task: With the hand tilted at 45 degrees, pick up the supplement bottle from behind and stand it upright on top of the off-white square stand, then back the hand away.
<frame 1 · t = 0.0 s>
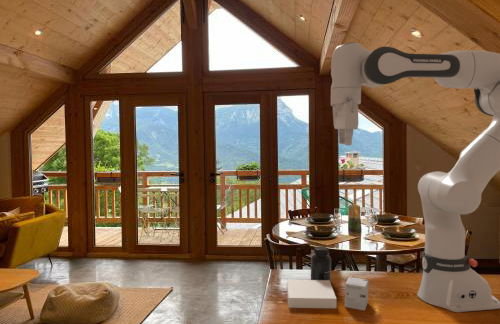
hand: (345, 144, 121), 48 cm above the table, tool pointing down, fingers open, 8 cm apart
supplement bottle: (320, 282, 137), on the table
skincare box: (356, 305, 119), on the table
stand: (310, 297, 124), on the table
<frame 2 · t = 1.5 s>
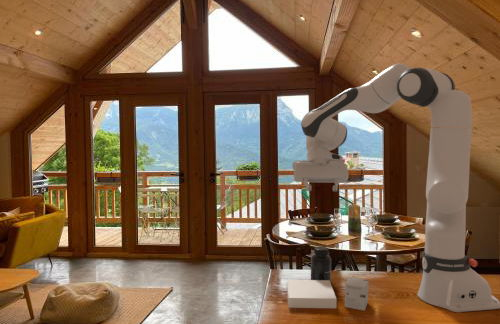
hand: (322, 190, 145), 30 cm above the table, tool tilted 45°, fingers open, 8 cm apart
nothing on the table moved.
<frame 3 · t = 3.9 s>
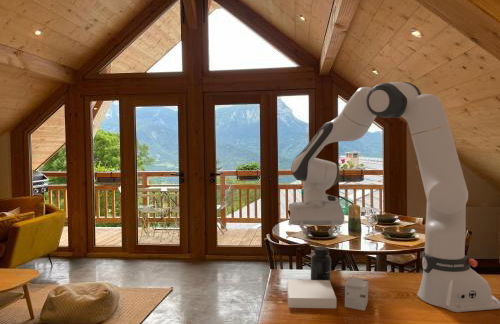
hand: (318, 233, 145), 14 cm above the table, tool tilted 45°, fingers open, 8 cm apart
nothing on the table moved.
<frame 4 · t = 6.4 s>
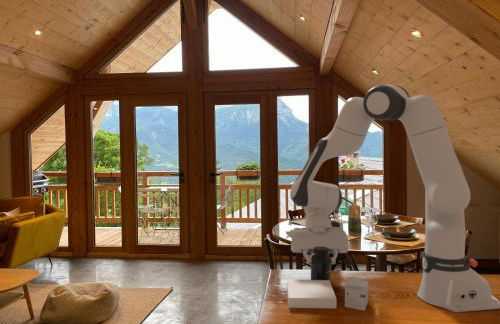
hand: (321, 263, 136), 7 cm above the table, tool tilted 45°, fingers closed on supplement bottle, 7 cm apart
supplement bottle: (320, 282, 137), on the table, touching gripper
everything else where it was.
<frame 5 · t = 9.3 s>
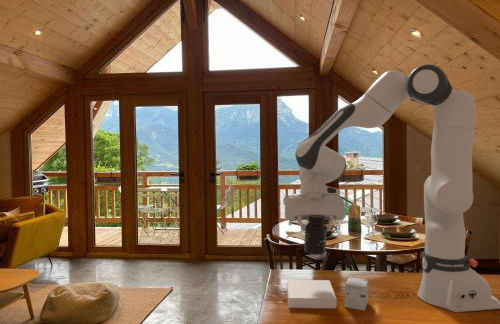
hand: (316, 230, 128), 20 cm above the table, tool tilted 45°, fingers closed on supplement bottle, 7 cm apart
supplement bottle: (314, 252, 130), point 12 cm above the table, touching gripper
everything else where it was.
when the fingers open (11 cm above the table, at t = 12.4 s): supplement bottle stays where it is, resting on stand.
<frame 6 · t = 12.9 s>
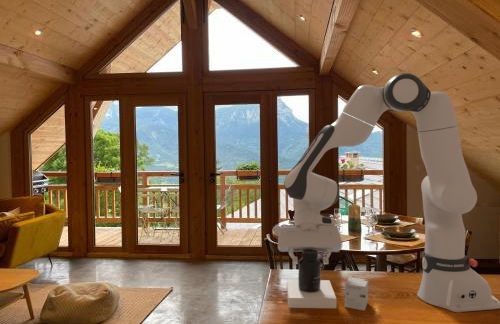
hand: (310, 263, 123), 11 cm above the table, tool tilted 45°, fingers open, 8 cm apart
supplement bottle: (309, 289, 124), point 3 cm above the table, touching stand
everything else where it was.
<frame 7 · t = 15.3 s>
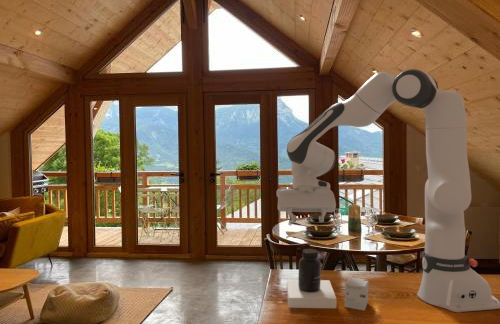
hand: (307, 221, 135), 21 cm above the table, tool tilted 45°, fingers open, 8 cm apart
nothing on the table moved.
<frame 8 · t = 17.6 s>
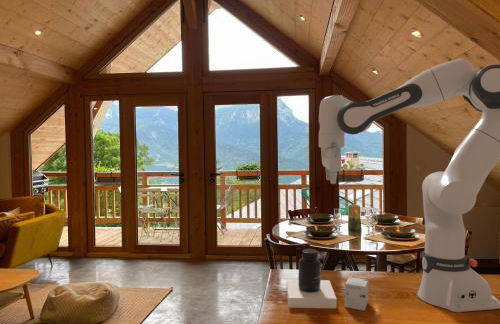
hand: (331, 181, 140), 34 cm above the table, tool pointing down, fingers open, 8 cm apart
nothing on the table moved.
at the end: supplement bottle inside the target area on the stand (0.2 cm from its centre), point 2.8 cm above the stand's base; supplement bottle tilted 0°; the gripper is holding nothing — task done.
